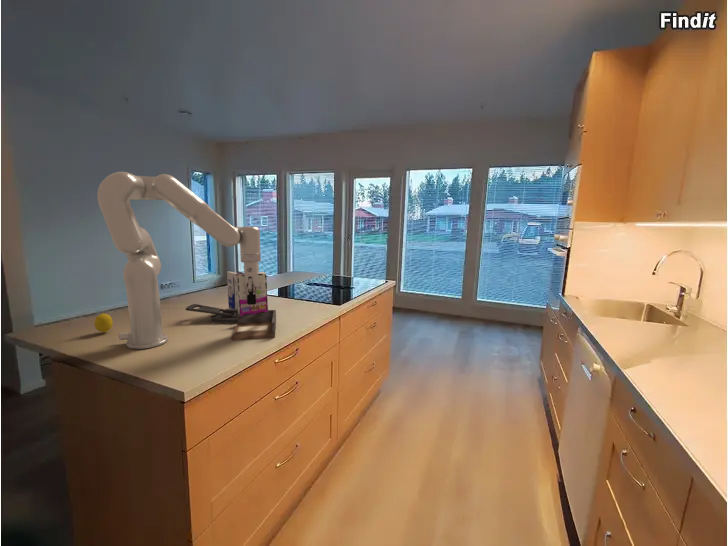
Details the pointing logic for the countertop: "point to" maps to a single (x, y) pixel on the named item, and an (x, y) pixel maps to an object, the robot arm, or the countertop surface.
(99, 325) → the lemon
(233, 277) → the milk carton
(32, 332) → the countertop surface
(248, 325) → the brown square tray
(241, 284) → the candy bar box
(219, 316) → the dark grey spatula
